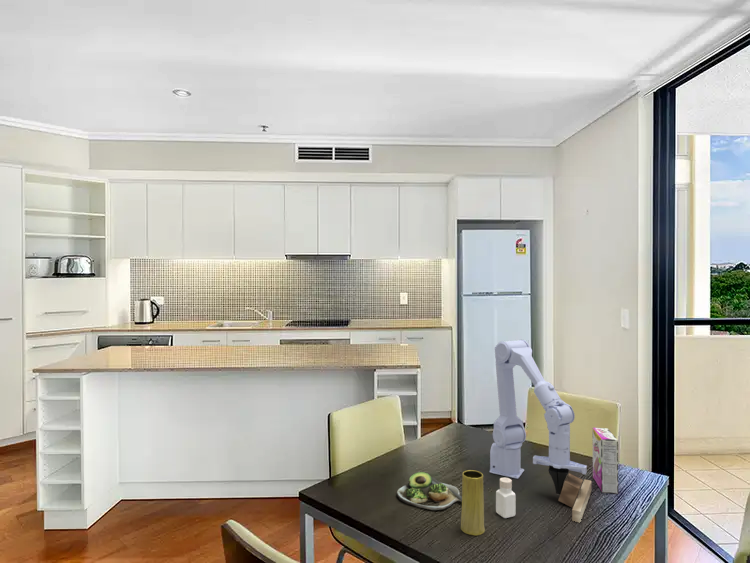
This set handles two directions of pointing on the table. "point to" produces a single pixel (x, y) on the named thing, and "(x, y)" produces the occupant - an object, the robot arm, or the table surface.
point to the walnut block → (570, 490)
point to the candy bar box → (605, 460)
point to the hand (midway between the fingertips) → (559, 492)
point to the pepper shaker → (505, 499)
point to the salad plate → (428, 492)
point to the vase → (472, 503)
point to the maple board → (581, 501)
